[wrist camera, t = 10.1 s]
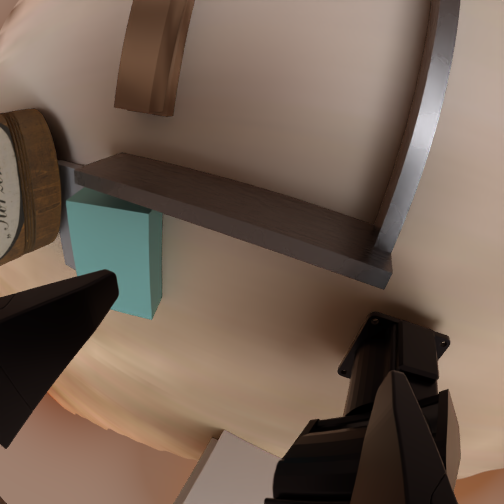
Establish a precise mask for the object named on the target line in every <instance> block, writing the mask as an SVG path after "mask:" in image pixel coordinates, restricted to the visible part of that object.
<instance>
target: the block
mask: <svg viewBox="0 0 504 504" xmlns="http://www.w3.org/2000/svg"><path fill="white" fill-rule="evenodd" d="M66 207H67V215H68V223H69V231H70V238H71V244H72V250H73V256H74V261H75V267H76V272H77V276H80V275H84V274H88V273H92V272H96V271H99V270H103V269H107V270H110V271H112V272H114V273H115V274H116V276H117V282H118V288H119V296H118V298H117V300H116V301H115V303H114V304H113V306H112V307H111V310H115V311H119V312H123V313H126V314H130V315H134V316H138V317H142V318H146V319H151V320H152V319H153V316H154V314H155V312H156V310H157V307H158V305H159V303H160V301H161V298H162V213H161V212H158V211H155V210H152V209H149V208H146V207H143V206H140V205H137V204H134V203H131V202H128V201H125V200H122V199H119V198H116V197H113V196H110V195H107V194H104V193H101V192H98V191H95V190H92V189H89V188H86V187H84V188H82V189H81V190H80V191H78V192H77V193H75V194H74V195H73V196H71V197H70V198H69V199H67V200H66Z"/></svg>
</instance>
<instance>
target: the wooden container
mask: <svg viewBox="0 0 504 504" xmlns="http://www.w3.org/2000/svg"><path fill="white" fill-rule="evenodd" d="M60 221H61V184H60V174H59V167H58V160H57V155H56V150H55V146H54V142H53V138H52V135H51V132H50V130H49V127H48V125H47V122H46V120H45V119H44V117H43V115H42V114H41V113H40V112H39V111H38V110H36V109H25V110H18V111H12V112H7V113H1V114H0V266H1V265H3V264H5V263H7V262H10V261H12V260H14V259H17V258H19V257H21V256H22V255H24V254H26V253H29V252H32V251H34V250H36V249H39V248H41V247H43V246H45V245H48V244H50V243H52V242H53V241H54V240H55V239H56V237H57V234H58V232H59V228H60Z"/></svg>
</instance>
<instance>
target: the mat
mask: <svg viewBox="0 0 504 504" xmlns="http://www.w3.org/2000/svg"><path fill="white" fill-rule="evenodd" d="M58 167H59V174H60V184H61V221H60V228H59V231H60V237H61V243H62V248H63V253H64V259H65V264H66V265H68V266H69V267H71V268H73V269H74V270H76V267H75V261H74V256H73V250H72V244H71V238H70V231H69V223H68V215H67V207H66V200H67V199H69V198H70V197H71V196H73V195H74V194H75V193H77V192H78V191H80V190H81V189H82V188H84V187H83V186H80V185H77V184H75V182H74V170H75V169H78V168H80V167H83V166H82V165H78V164H74V163H70V162H67V161H63V160H58Z"/></svg>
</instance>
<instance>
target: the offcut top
mask: <svg viewBox="0 0 504 504" xmlns="http://www.w3.org/2000/svg"><path fill="white" fill-rule="evenodd" d="M185 2H186V0H133V4H132V7H131V12H130V16H129V20H128V25H127V29H126V34H125V39H124V44H123V49H122V55H121V61H120V67H119V73H118V80H117V87H116V95H115V103H114V107H115V108H121V109H127V110H132V111H137V112H143V113H148V114H149V113H156V112H163V108H164V101H165V95H166V89H167V84H168V78H169V73H170V67H171V62H172V57H173V53H174V48H175V43H176V39H177V34H178V30H179V26H180V22H181V18H182V14H183V10H184V6H185Z"/></svg>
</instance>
